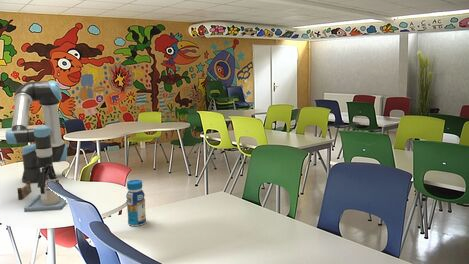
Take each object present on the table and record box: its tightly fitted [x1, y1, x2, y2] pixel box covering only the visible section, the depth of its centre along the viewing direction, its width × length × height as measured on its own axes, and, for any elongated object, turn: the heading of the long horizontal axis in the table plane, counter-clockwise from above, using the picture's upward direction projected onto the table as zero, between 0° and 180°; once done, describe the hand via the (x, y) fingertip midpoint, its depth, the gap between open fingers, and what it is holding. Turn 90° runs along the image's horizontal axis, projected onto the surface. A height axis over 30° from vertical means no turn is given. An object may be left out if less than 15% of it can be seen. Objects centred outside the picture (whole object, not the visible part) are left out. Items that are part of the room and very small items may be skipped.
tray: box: [23, 194, 68, 213], centre depth 211 cm, size 20×18×2 cm
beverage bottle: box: [125, 179, 147, 227], centre depth 181 cm, size 8×8×20 cm
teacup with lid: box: [42, 180, 60, 205], centre depth 211 cm, size 12×9×12 cm
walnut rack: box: [16, 179, 60, 201], centre depth 226 cm, size 14×18×6 cm
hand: (48, 195), depth 210 cm, fingers open, 13 cm apart
